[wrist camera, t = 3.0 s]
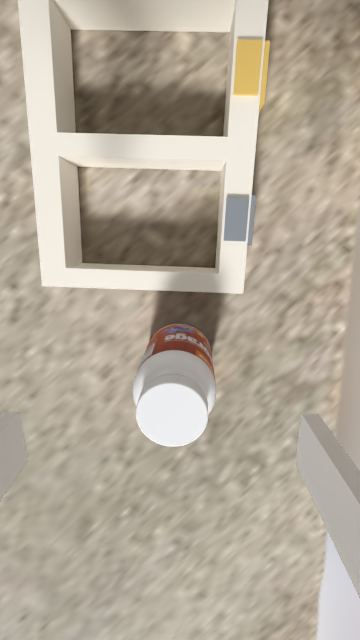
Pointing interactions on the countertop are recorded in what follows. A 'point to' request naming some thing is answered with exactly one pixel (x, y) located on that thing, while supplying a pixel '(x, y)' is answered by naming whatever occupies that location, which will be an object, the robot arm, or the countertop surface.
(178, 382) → the pill bottle
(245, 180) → the white divided tray
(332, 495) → the robot arm
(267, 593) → the countertop surface
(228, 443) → the countertop surface
